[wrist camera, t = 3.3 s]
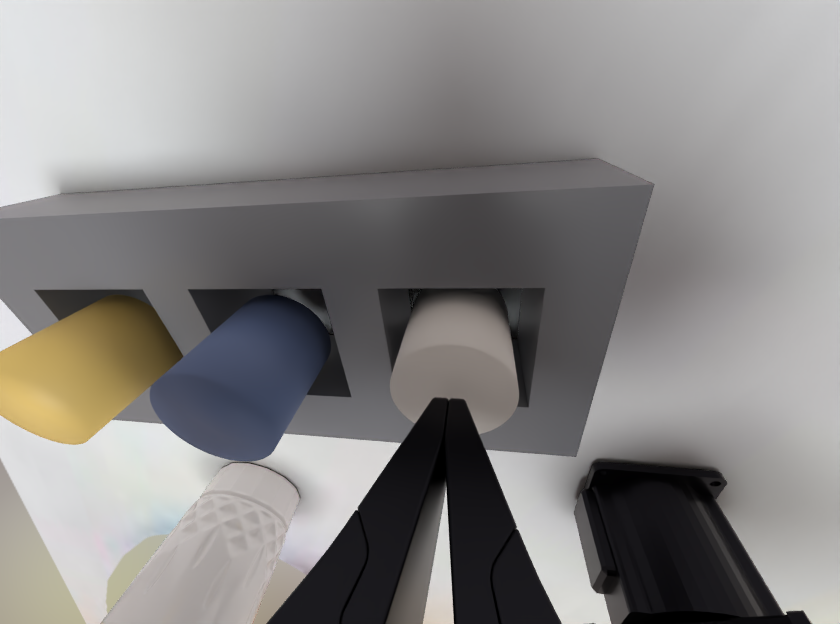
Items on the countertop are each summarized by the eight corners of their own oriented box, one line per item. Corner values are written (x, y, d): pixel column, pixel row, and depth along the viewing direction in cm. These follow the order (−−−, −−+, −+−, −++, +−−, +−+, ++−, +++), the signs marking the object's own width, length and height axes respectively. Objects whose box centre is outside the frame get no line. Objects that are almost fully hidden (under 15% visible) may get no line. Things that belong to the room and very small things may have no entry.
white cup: (324, 492, 25) (249, 682, 17) (283, 520, 29) (206, 686, 21) (232, 443, 23) (96, 630, 15) (202, 480, 27) (82, 645, 19)
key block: (598, 158, 10) (653, 184, 7) (555, 382, 16) (576, 456, 12) (59, 194, 14) (-68, 222, 11) (171, 365, 20) (108, 419, 16)
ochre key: (155, 294, 12) (34, 367, 9) (198, 366, 14) (112, 448, 11) (78, 294, 13) (-62, 362, 9) (130, 363, 15) (27, 440, 11)
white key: (510, 273, 11) (524, 346, 8) (504, 354, 13) (514, 440, 10) (408, 274, 12) (380, 342, 8) (417, 351, 14) (397, 431, 10)
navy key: (317, 294, 11) (248, 377, 8) (340, 372, 13) (292, 466, 10) (224, 294, 12) (123, 371, 8) (259, 369, 14) (188, 456, 10)
